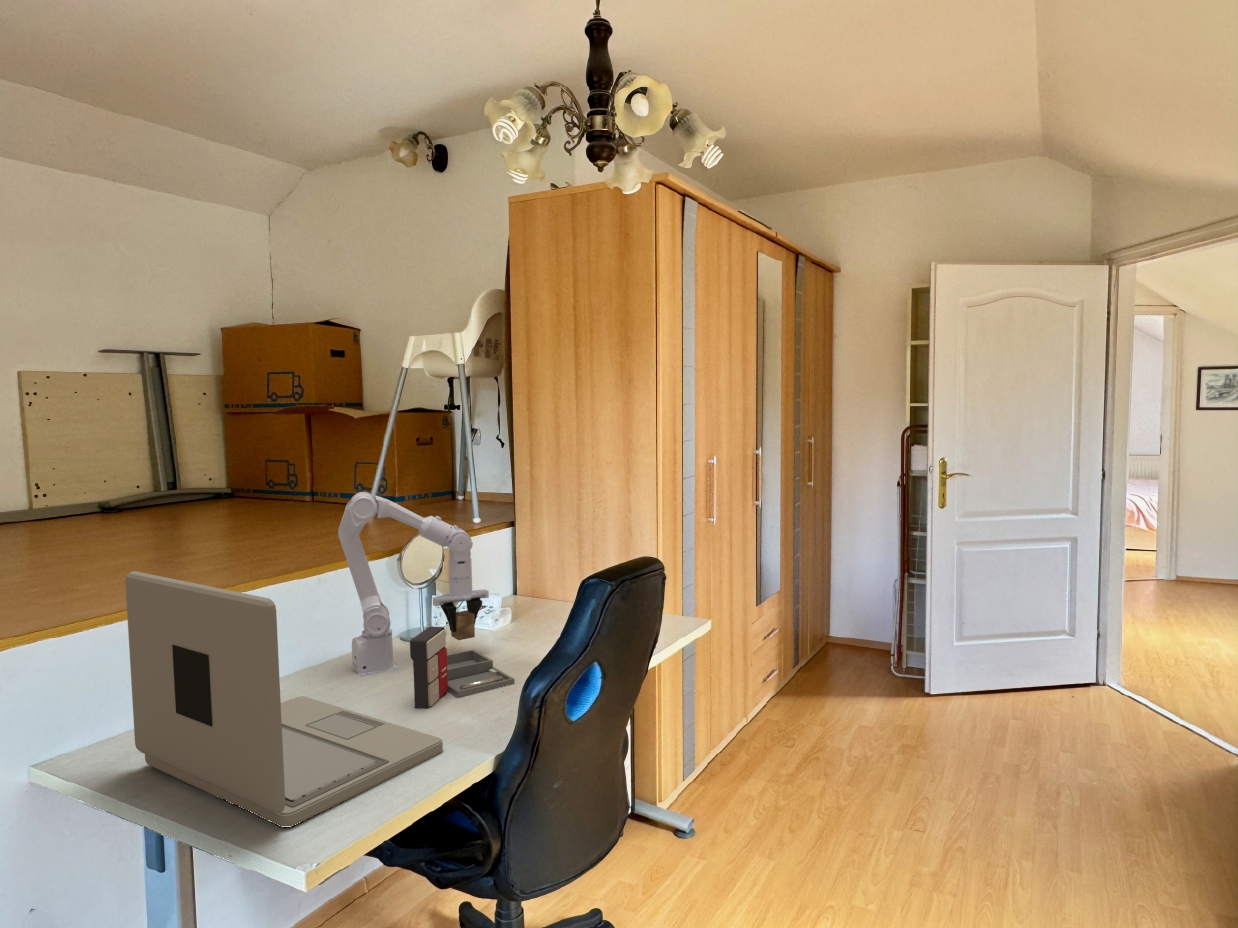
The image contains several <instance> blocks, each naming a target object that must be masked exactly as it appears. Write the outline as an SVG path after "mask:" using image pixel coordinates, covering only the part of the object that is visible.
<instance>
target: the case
mask: <svg viewBox="0 0 1238 928" xmlns="http://www.w3.org/2000/svg"><path fill="white" fill-rule="evenodd" d="M458 652H459V653H458ZM458 652H454V654H453V653H450V654H449V653H448V654H449V655H448V654H447V671H448V681H449V680H454V679H458V678H463V677H467V676H472V675H476V674H481V673H485V672H489V669H492V667H494V661H493V659H491V658H489V657H488V656H486V655H484V654H483V653H481V652H479V651H477V650H475V649H469V651H468V650H465V651H464V652H463V651H458Z"/></svg>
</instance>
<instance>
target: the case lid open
mask: <svg viewBox="0 0 1238 928" xmlns="http://www.w3.org/2000/svg"><path fill="white" fill-rule="evenodd" d="M499 676H502V677H503V681H499V682H494V683H490V684H486V685H481V686H477V687H473V688H468V689H464V690H460V685H464V684H468V683H472V682H477V681H481V680H486V679H490V678H494V677H499ZM515 684H516V683H515V678H514V677H512V676H510V675H509V674H507V673H505V672H503V671H501V670H500V669H498V668H496V667H495V666H493V667H492V669H489V672H485V673H481V674H476V675H472V676H467V677H463V678H458V679H454V680H449V681H448V691H447V692H448V693H450V694H451V695H452V696H454V697H455V698H457V699H460V698H464V697H467V696H473V695H476V694H480V693H483V692H488V691H492V690H495V689H500V688H503V686H504V687H507V685H508V686H511V685H515ZM499 687H500V688H499Z"/></svg>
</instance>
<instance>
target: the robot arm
mask: <svg viewBox="0 0 1238 928" xmlns="http://www.w3.org/2000/svg"><path fill="white" fill-rule="evenodd" d="M376 515H377V517H376V518H377V519H380V518H383V519H384V518H391V519H394V520H396V521H398V522H401V523H403V524H405V525H408V526H410V527H412V528H415V529H417V530H418V532H419V535H420V537H422V538H424V539H426V540H428V541H431V542H432V543H434V544H436V545H438V546H441V547H444V548H445V547H447V548H448V580H449V581H448V583H449V584H448V585H449V587H448V588H449V593H447V594H443V595H438V596H434V597H432V605H433V606H435V607H440V608H441V609H442V611H443V613H444V615H445V617H446V620H447V624H448V627H449V631H450V632H451V631H452V632H456V612H457V609H458V607H457V606H455V604H454V603H460V602H461V603H462V602H466V603H465V604H466V609H467V611H469V612H471V613H473V614H474V623H475V624H476V620H477V616H478V614H479V611H480V610H481V607H482V606H483V600H481V599H489V597H490V596H489V594H490V592H489V590H488V589H486V588H485V589H477V590H474V589H473V575H472V574H473V573H472V571H473V570H472V557H471V555H472V553H471V550H472V548H473V545H474V544H473V541H472V538H471V536H470V535H469V534H468V532H466V531H465V530H463V528H461V527H460V528H459V526H458V525H455V524H454V525H451V524H449V523H447V522H446V521H443V520H442V517H440V516H438V515H436V516H433V515H430V516H427V517H423V516H422V515H419V514H417V513H415V512H413V511H411V510H409V509H407V508H405V507H404V506H401V505H400V504H398V503H396V502H394V501H392V500H389V499H387V498H384V497H382V496H378V495H375V496H374V495H373V494H372V493H370V492H367V491H358V492H357V493H355V494H354V495H353V496H352V497H351V499H350V500H349V501H347V504H346V506H345V509H344V511H343V515H342V518H341V521H340V524H339V527H338V530H337V534H338V535H337V536H338V538H339V542H340V544H341V548H342V550H343V553H344V557H345V560H346V562H347V566H348V568H349V572H350V574H351V577H352V581H353V583H354V587H355V589H356V592H357V596H358V599H359V602H360V606H361V611H362V613H363V614H362V618H363V623H362V624H363V625H362V626H363V631H362V632H361V635H359V636H357V637H354V638H352V640H351V658H352V659H351V660H352V661H351V662H352V665H351V670H354V671H355V672H356V673H357V674H358V675H359V676H367V675H373V674H377V673H382V672H387V671H391V670H392V671H394V670H396V669H397V670H398V669H399V668H400V667H399V666H398V665H397V664H395V663H394V650H393V649H394V648H393V647H394V645H393V629H391V628H390V627H391V619H390V612H389V611H390V610H389V609H388V608H387V606H386V605H385V604H384V603H383V602H382V600H381V597H380V594H379V592H378V589H377V587H376V583H375V580H374V577H373V574H372V570H371V568H370V565H369V562H368V557H367V555H366V553H365V550H364V547H363V543H362V540H361V537H360V533H361V532H362V530H363V529H364V527H365V525H366V524H368V522H370V521H371V520H372V519H373V518H374V517H375V516H376Z"/></svg>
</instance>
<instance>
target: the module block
mask: <svg viewBox="0 0 1238 928" xmlns="http://www.w3.org/2000/svg"><path fill="white" fill-rule="evenodd" d="M475 625H476V622H475V623H474V614H473V613H471V612H469V611H468V610H463V611H462V610H461V611H456V632H452V631H450V635H451V637H452V638H454V640H455V639H456V640H457V641H461V640H466V639H467V640H468V639H472V638H475V637H476V633H475V631H476V630H475Z"/></svg>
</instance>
